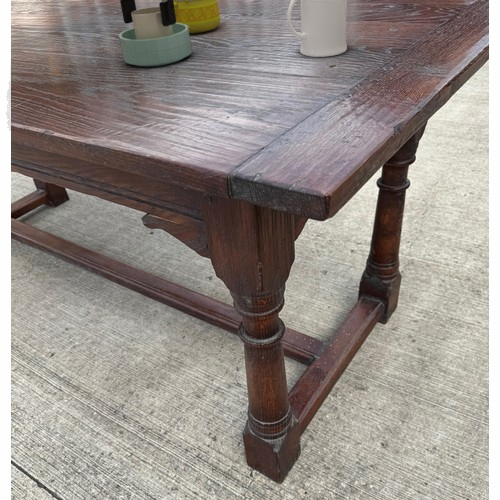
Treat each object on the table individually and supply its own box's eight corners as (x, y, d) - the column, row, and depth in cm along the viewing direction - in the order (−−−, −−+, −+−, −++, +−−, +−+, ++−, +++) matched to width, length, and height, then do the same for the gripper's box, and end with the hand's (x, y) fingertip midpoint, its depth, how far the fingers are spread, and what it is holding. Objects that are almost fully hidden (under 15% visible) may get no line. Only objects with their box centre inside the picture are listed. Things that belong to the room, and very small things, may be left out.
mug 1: (201, 22, 122) (193, -35, 115) (231, 27, 115) (225, -33, 108) (157, 34, 116) (146, -25, 108) (186, 40, 109) (176, -23, 102)
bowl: (161, 71, 92) (156, 42, 89) (110, 64, 98) (103, 37, 95) (205, 51, 100) (202, 24, 97) (156, 46, 106) (151, 21, 104)
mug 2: (298, 64, 88) (296, -13, 81) (276, 53, 95) (272, -19, 88) (356, 50, 92) (358, -24, 85) (330, 41, 98) (331, -29, 91)
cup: (159, 61, 95) (151, 15, 90) (132, 58, 98) (123, 13, 93) (183, 51, 99) (176, 6, 95) (156, 48, 103) (149, 5, 98)
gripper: (79, -82, 87) (103, 25, 97) (154, -87, 78) (172, 30, 88) (111, -86, 92) (131, 17, 102) (185, -91, 83) (198, 21, 93)
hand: (150, 23), depth 95 cm, fingers open, 9 cm apart
